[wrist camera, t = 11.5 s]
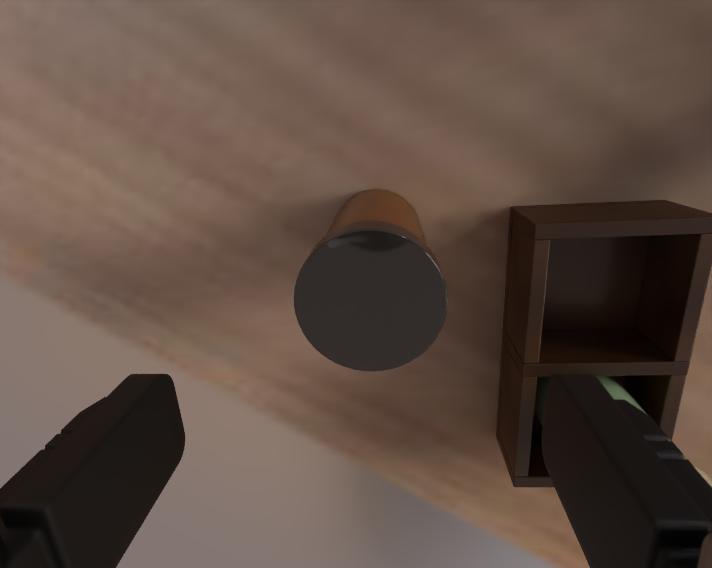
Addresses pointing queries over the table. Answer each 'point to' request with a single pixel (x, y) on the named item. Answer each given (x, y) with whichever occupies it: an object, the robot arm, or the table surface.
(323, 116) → the table surface
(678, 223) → the jar stand
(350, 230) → the amber jar
